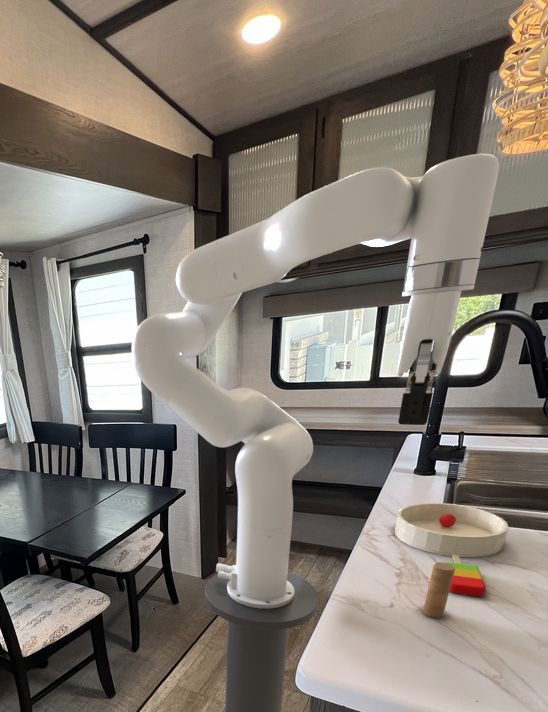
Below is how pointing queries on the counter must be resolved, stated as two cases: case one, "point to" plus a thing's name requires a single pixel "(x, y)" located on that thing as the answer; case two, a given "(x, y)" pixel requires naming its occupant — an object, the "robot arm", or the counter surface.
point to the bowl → (451, 530)
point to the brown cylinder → (438, 589)
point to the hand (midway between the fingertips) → (413, 417)
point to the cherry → (447, 520)
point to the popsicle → (466, 579)
